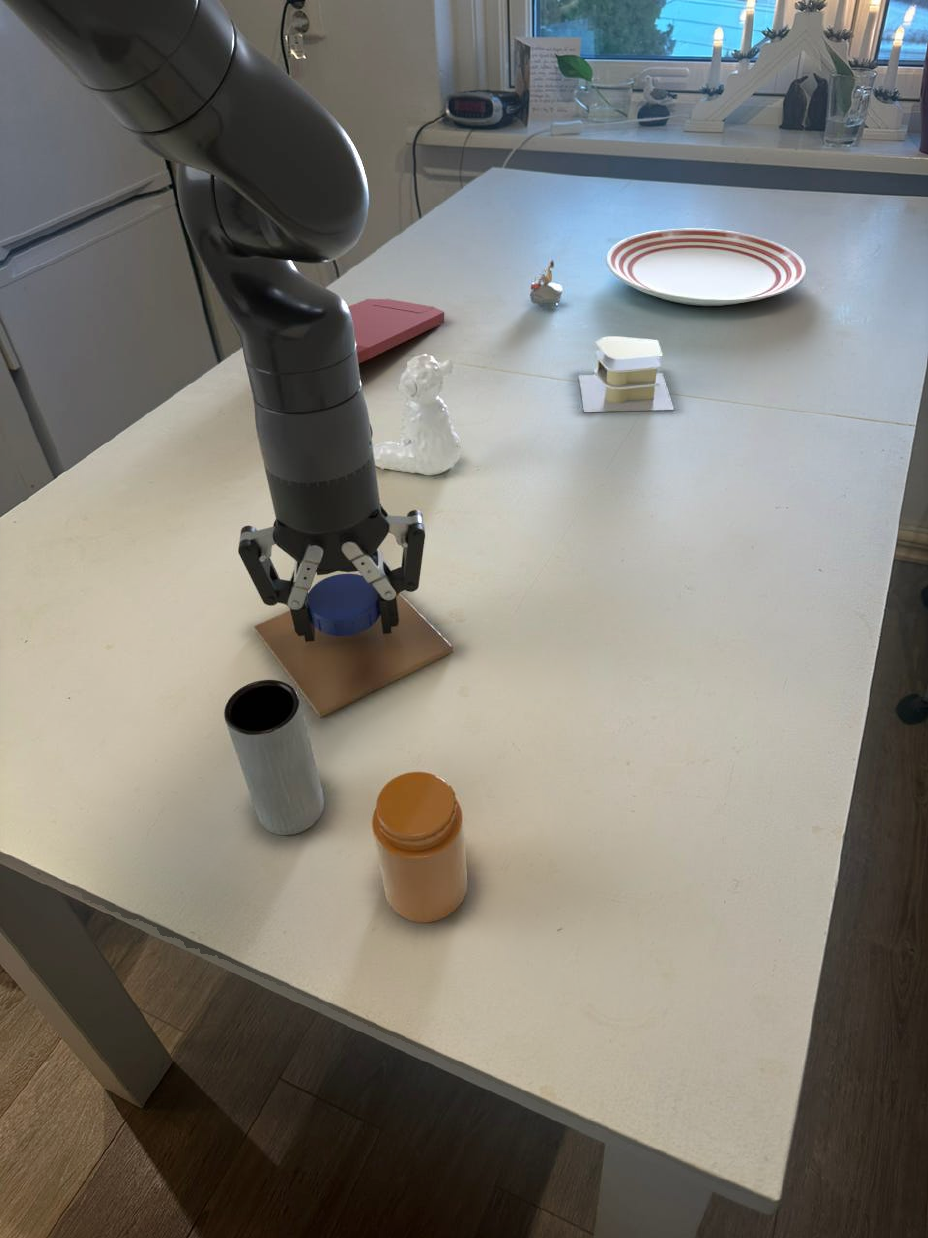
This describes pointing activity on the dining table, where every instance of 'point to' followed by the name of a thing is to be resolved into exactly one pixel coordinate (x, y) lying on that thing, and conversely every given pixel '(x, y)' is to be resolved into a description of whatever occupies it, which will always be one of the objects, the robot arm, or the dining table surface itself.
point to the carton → (389, 324)
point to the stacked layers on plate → (626, 377)
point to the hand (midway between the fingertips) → (349, 630)
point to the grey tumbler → (275, 755)
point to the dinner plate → (705, 266)
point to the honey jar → (420, 846)
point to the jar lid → (343, 605)
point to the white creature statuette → (422, 423)
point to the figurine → (546, 290)
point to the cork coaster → (352, 656)
